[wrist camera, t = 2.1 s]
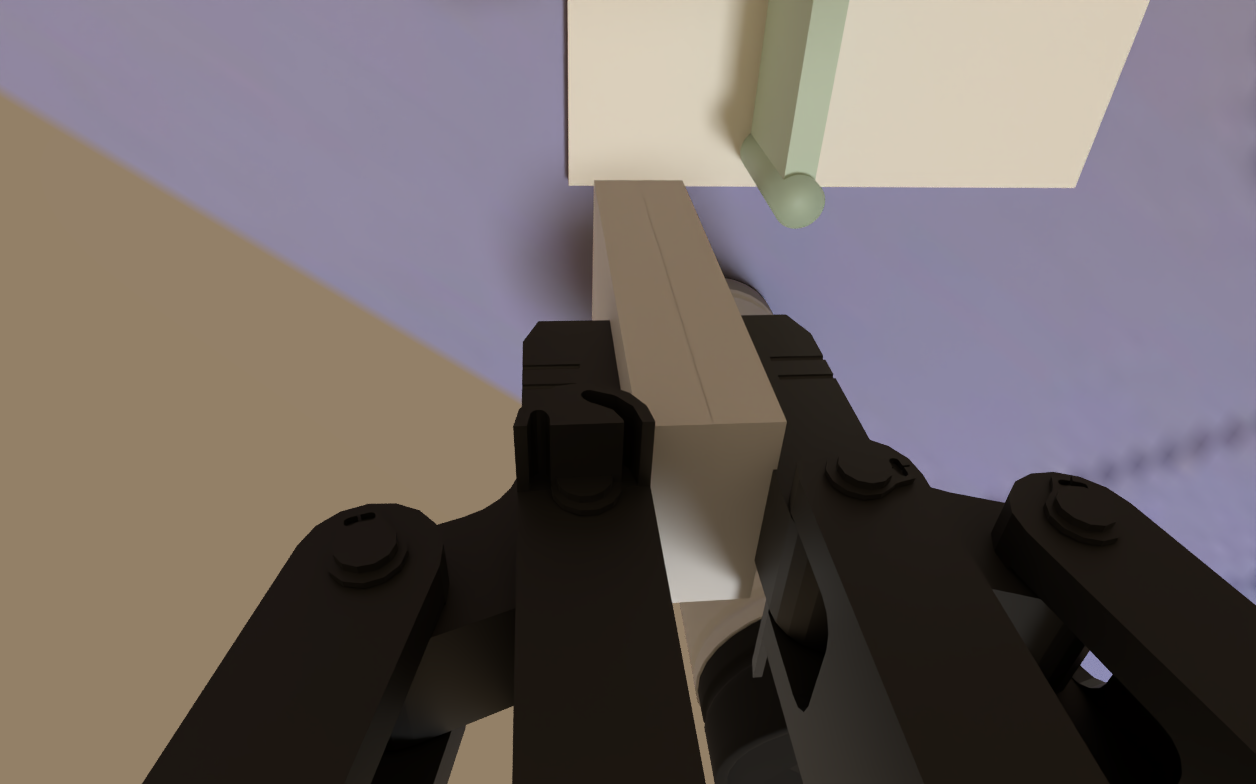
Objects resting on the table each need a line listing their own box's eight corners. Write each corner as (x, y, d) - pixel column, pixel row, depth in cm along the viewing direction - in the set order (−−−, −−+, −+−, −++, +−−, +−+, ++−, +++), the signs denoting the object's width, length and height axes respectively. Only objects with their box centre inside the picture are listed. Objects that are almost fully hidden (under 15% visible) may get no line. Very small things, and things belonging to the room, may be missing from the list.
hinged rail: (783, -185, 22) (837, -189, 18) (837, -183, 22) (903, -186, 18) (737, 172, 28) (770, 228, 24) (779, 172, 28) (819, 228, 24)
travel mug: (808, 322, 33) (1056, 772, 17) (704, 416, 36) (836, 884, 20) (709, 239, 31) (893, 685, 15) (603, 348, 33) (662, 828, 17)
